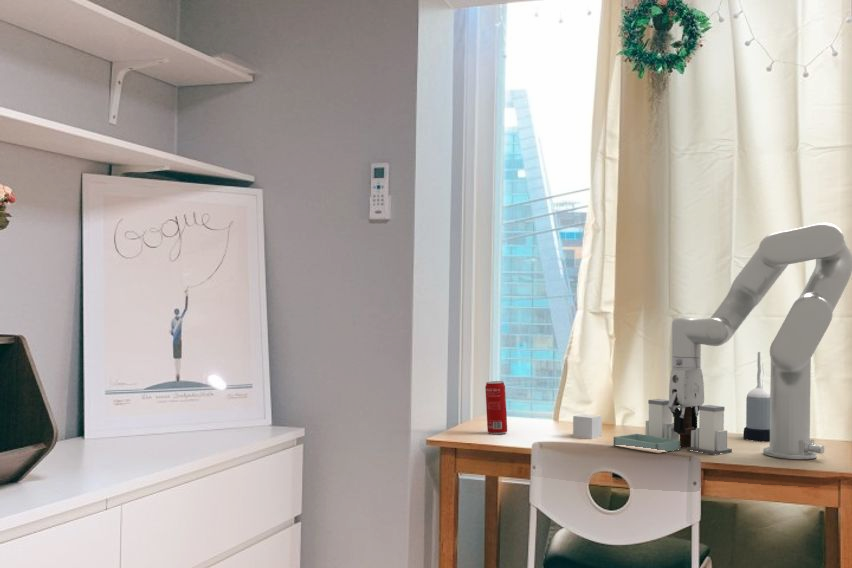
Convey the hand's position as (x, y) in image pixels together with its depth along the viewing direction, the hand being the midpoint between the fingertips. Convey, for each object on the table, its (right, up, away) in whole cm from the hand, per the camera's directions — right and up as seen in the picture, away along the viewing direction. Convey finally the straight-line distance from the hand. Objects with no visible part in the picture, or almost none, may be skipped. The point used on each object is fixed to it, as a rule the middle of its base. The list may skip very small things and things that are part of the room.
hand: (685, 430), depth 234 cm
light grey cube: (-23, -5, +16) cm, 29 cm away
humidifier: (+26, -5, +16) cm, 31 cm away
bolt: (0, -5, 0) cm, 5 cm away
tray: (-11, -4, -2) cm, 12 cm away
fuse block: (0, -4, 0) cm, 4 cm away
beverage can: (-49, -4, +19) cm, 53 cm away
